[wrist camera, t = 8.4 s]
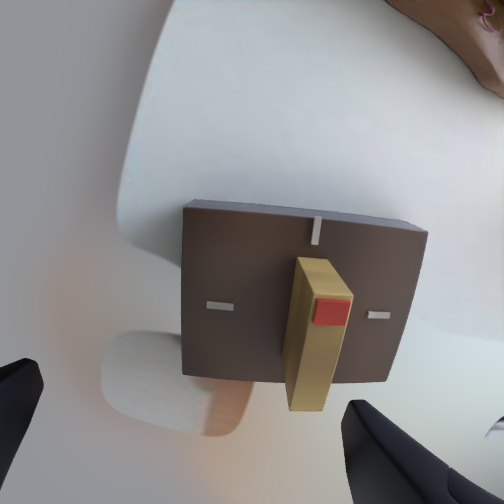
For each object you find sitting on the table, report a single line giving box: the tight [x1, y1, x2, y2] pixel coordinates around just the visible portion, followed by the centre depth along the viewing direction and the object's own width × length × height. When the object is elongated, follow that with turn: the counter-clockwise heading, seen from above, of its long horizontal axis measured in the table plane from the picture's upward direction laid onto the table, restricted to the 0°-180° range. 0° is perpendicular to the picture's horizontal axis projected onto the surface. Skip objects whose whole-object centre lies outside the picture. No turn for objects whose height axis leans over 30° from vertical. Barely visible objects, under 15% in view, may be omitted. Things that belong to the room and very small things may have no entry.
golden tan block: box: [281, 257, 353, 411], centre depth 14 cm, size 6×2×5 cm, turn 175°
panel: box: [181, 199, 428, 383], centre depth 18 cm, size 13×10×3 cm
